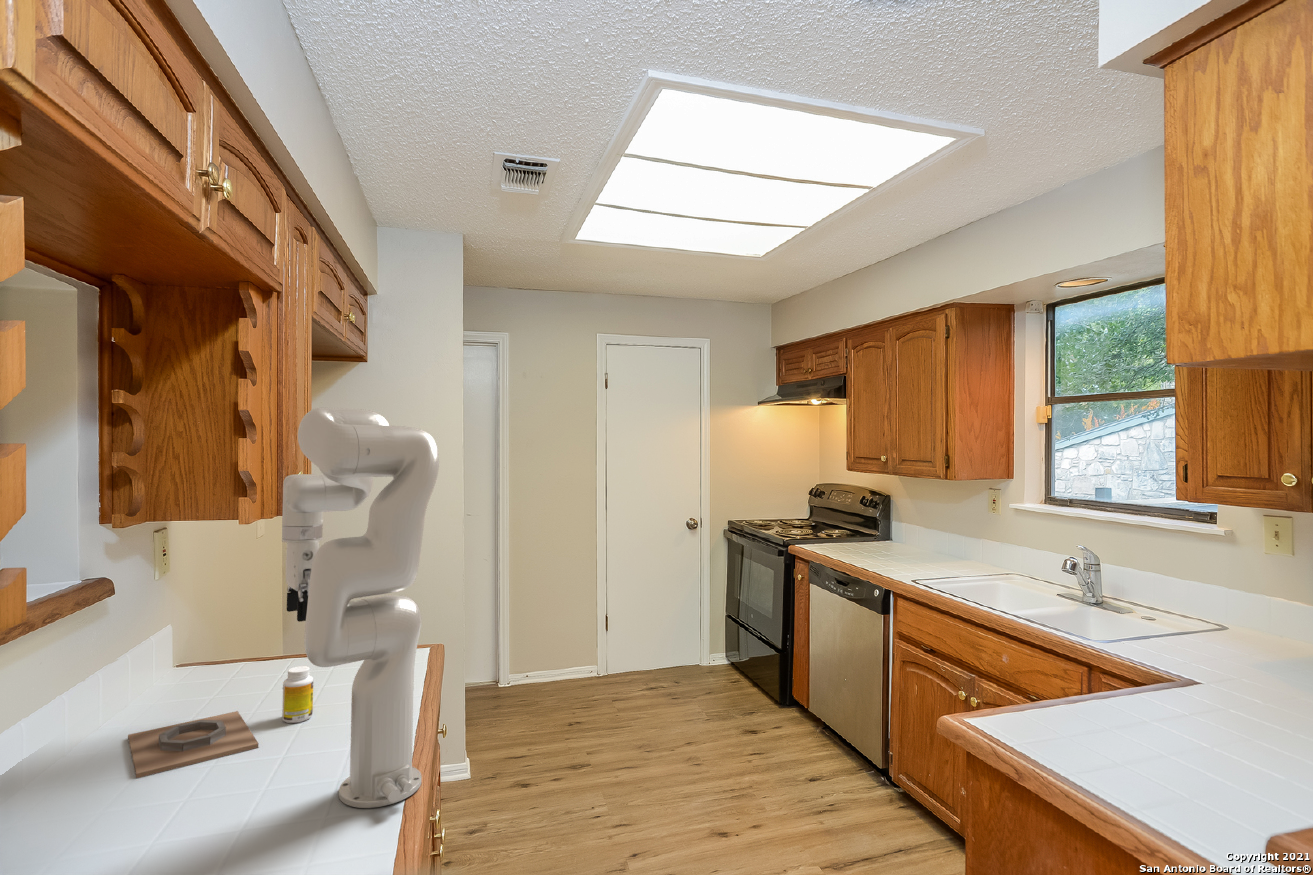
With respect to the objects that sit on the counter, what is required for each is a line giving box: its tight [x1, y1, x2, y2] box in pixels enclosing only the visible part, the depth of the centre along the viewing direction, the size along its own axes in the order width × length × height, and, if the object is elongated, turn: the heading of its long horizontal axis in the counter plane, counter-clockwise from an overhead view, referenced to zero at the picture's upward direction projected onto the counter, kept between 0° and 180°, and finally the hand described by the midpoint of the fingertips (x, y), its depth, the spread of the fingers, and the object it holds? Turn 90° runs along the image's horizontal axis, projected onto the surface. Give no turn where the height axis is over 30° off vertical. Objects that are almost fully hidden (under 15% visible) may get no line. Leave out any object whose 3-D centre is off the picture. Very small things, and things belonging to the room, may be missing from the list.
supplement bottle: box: [281, 665, 314, 724], centre depth 138 cm, size 6×6×10 cm
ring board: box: [127, 710, 259, 779], centre depth 126 cm, size 20×18×2 cm
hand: (300, 615), depth 139 cm, fingers open, 9 cm apart
